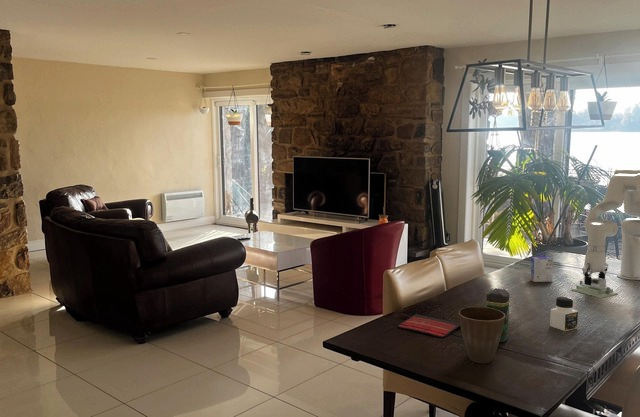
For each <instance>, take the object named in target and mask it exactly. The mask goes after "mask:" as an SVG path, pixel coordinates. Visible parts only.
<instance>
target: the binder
mask: <svg viewBox="0 0 640 417" xmlns="http://www.w3.org/2000/svg"><path fill="white" fill-rule="evenodd" d="M397 328H398V329H400V328H402V329H401V330H405V329H406V330H407V331H410V330H411V332H416V333H420V334H425V335H430V336H432V337H435V338H438V339H444V338H447V337H450V336H451V335H452V334H454V333H456V332H457V331H458V330H457V329H459V328H460V329H461V326H460V322H459V323H458V322H454V321H450V320H447V319H439V318H435V317H432V316H425V315H423V314H422V315H421V314H418V313H415V314H413V315H412V316H410V317H408V318H407V319H406V320H404V321H402V322H401V323H399V324H397Z"/></svg>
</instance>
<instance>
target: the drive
mask: <svg viewBox="0 0 640 417" xmlns="http://www.w3.org/2000/svg"><path fill="white" fill-rule="evenodd" d="M591 277H592V279H591V285H586V284H585V276H584V275H583V287H587V288H591V289H595V290H599V291H602V290H606V288H607V279H606V278H605V279H602V278H598V276H592V275H591Z"/></svg>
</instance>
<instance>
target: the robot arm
mask: <svg viewBox="0 0 640 417" xmlns="http://www.w3.org/2000/svg"><path fill="white" fill-rule="evenodd" d="M622 206H623V211H624V214H625V215H626V216H630V217H628V218H625V219H623V220H622V221H621V222H620V223H621V224H620V229H621V258H620V272H618V273H617V275H616V276H617V277H618V278H619V279H623V280H630V281H640V168H639V167H618V168H617V169H615V170H614V173H613V175H612V176H611V177H610V179H609V182H608V185H607V187H606V191H605V195H604V197H603V199H602V200H601V201H599V202H598V203H597V204H596V205H595V206H594V207H592V209H590V211H589V212H588V215H587V217H586V221H585V225H584V229H585V233H586V234H587V251H586V252H585V257H584V266H583V267H582V268H581V269H582V274H583V277H584V276H585V284H586V285H591V279H592V277H591V276H592V275H593V274H594V273H595V274H596V273H598V275H597V277H598V278H602V279H606V275H607V272H608V268H609V264H608V263H607V256H606V243H607V242H606V238H607V237H609V238H611V237H614V236H616V235H617V234H618V232H619V226H618V224H617V223H616V222H615V221H611V220H603V219H598V218H599V216H600V215H602V214H604V213H607V212H610V211H612V210H616V209H618V208H620V207H622ZM635 217H636V218H635Z"/></svg>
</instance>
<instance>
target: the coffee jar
mask: <svg viewBox="0 0 640 417" xmlns="http://www.w3.org/2000/svg"><path fill="white" fill-rule="evenodd" d="M510 295H511V294H510V293H509V291H507V289H505V288H504V289H503V288H493V289H491V290H489V291H488V292H487V293H486V297H485V307H487V308H493V309H497V310H499V311H501V312H503V313H504V314H505V320H504V326H503V330H502V334H501V338H500V341H499V343H505V342H506V341H507V340H508V337H509V320H510V319H509V318H510V317H509V316H510Z"/></svg>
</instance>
